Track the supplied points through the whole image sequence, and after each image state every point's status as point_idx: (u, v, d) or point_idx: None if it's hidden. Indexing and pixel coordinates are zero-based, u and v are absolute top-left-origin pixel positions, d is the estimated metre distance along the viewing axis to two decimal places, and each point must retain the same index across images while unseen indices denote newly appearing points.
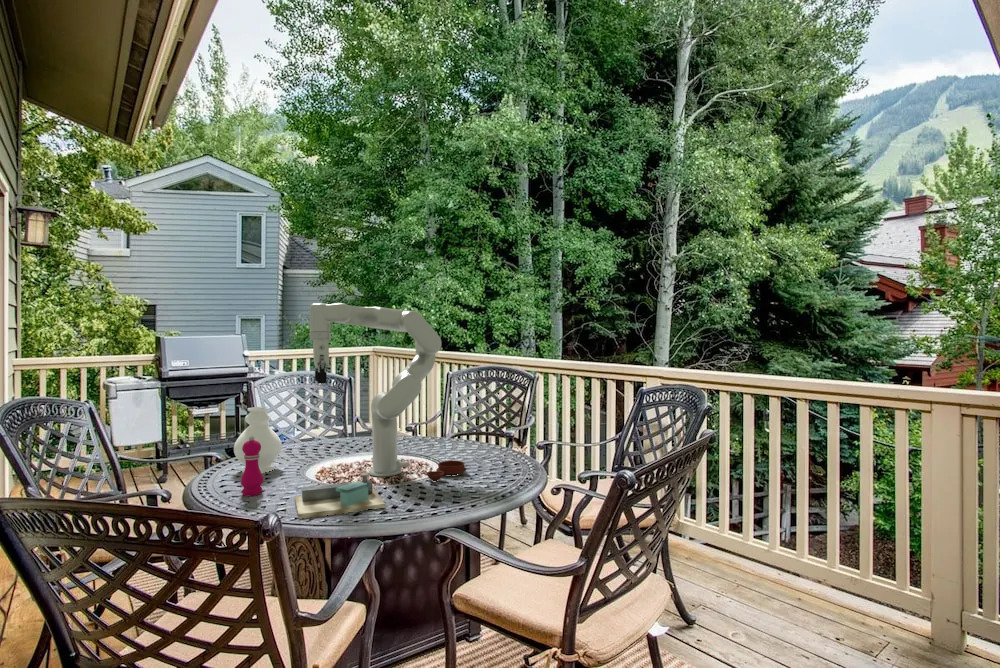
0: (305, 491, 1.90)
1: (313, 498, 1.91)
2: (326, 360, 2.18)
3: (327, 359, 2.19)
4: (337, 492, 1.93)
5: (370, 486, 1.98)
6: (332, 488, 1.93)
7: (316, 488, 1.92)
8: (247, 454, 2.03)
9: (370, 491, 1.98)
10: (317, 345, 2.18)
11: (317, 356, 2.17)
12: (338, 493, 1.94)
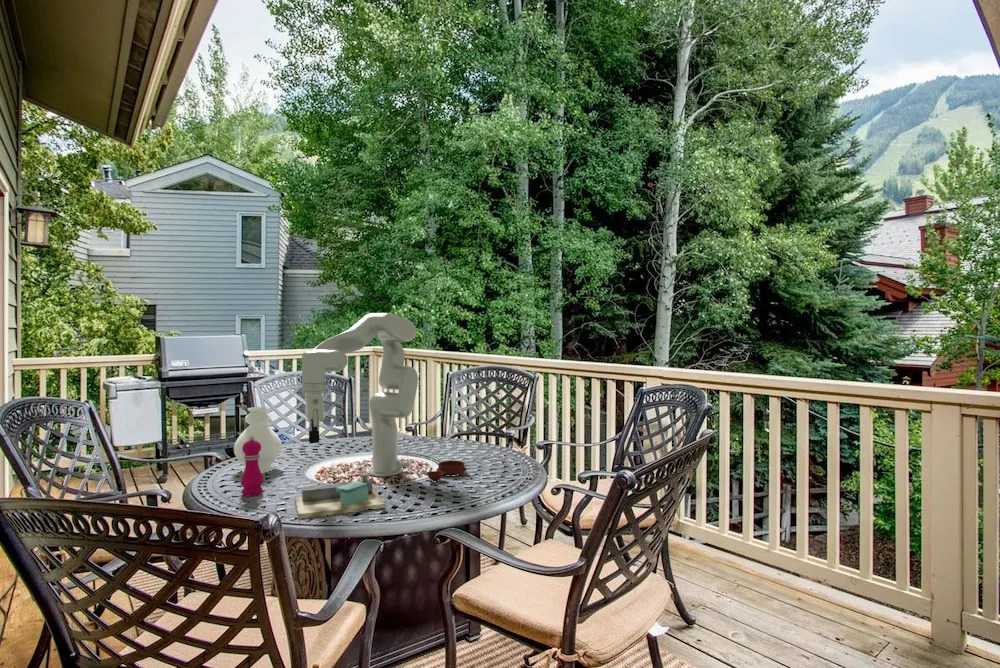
0: (305, 491, 1.90)
1: (313, 498, 1.91)
2: (320, 415, 1.95)
3: (321, 414, 1.95)
4: (337, 492, 1.93)
5: (370, 486, 1.98)
6: (332, 488, 1.93)
7: (316, 488, 1.92)
8: (247, 454, 2.03)
9: (370, 491, 1.98)
10: (310, 399, 1.94)
11: (310, 411, 1.94)
12: (338, 493, 1.94)
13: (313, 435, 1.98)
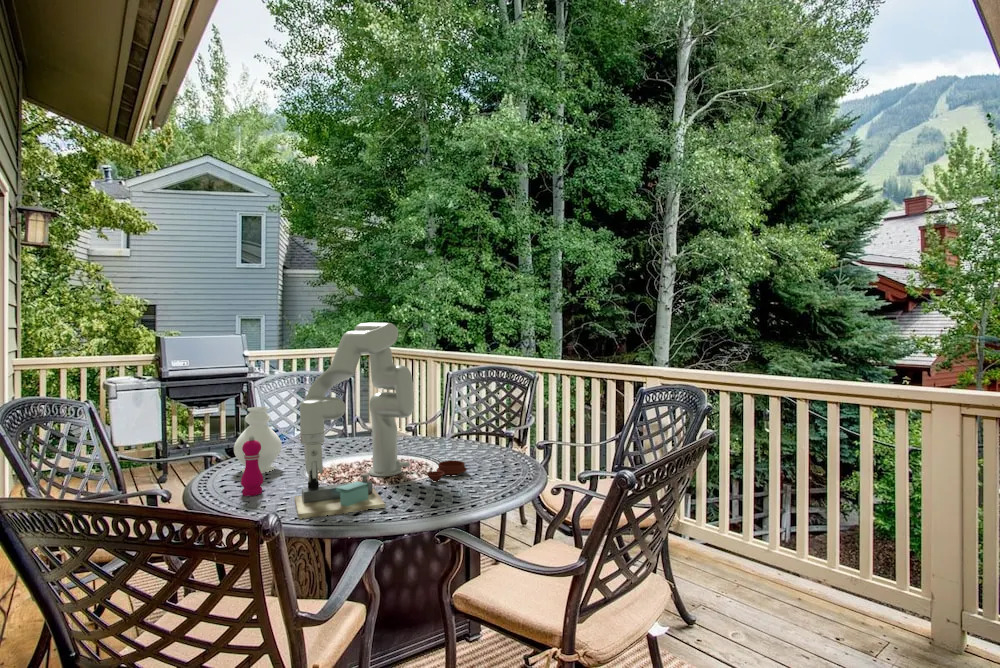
0: (306, 492, 1.88)
1: (314, 499, 1.89)
2: (319, 467, 1.91)
3: (320, 466, 1.91)
4: (338, 493, 1.93)
5: (370, 486, 1.98)
6: (333, 489, 1.92)
7: (317, 489, 1.91)
8: (247, 454, 2.03)
9: (370, 491, 1.98)
10: (309, 450, 1.90)
11: (309, 463, 1.90)
12: (339, 494, 1.93)
13: (312, 486, 1.94)
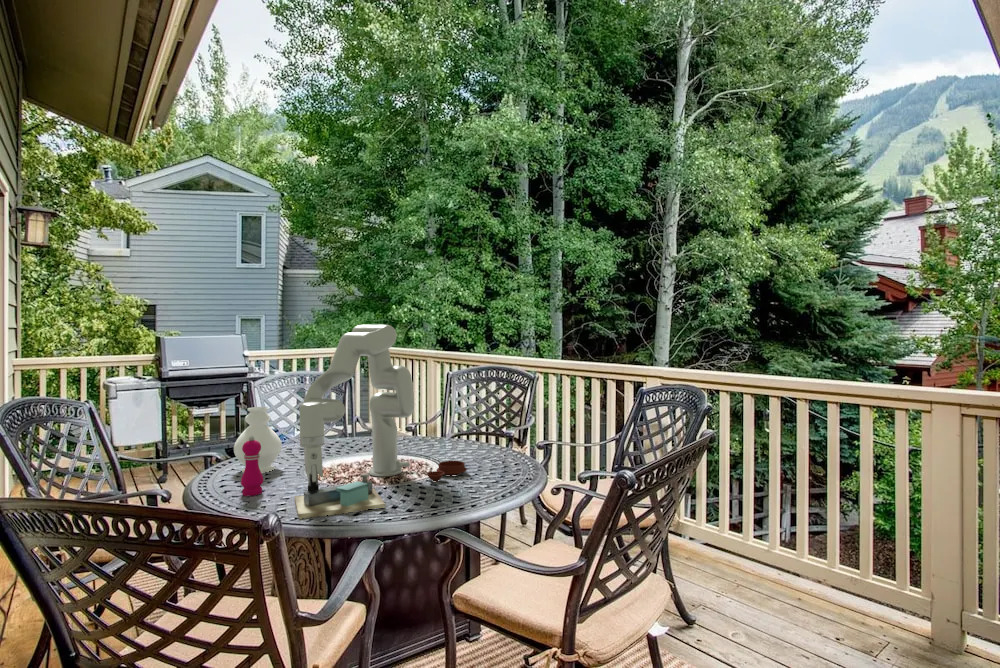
0: (311, 495, 1.85)
1: (318, 501, 1.87)
2: (319, 470, 1.88)
3: (320, 469, 1.88)
4: None
5: (371, 485, 1.98)
6: None
7: (320, 491, 1.88)
8: (247, 454, 2.03)
9: (371, 490, 1.98)
10: (308, 453, 1.87)
11: (308, 466, 1.87)
12: None
13: (312, 490, 1.91)
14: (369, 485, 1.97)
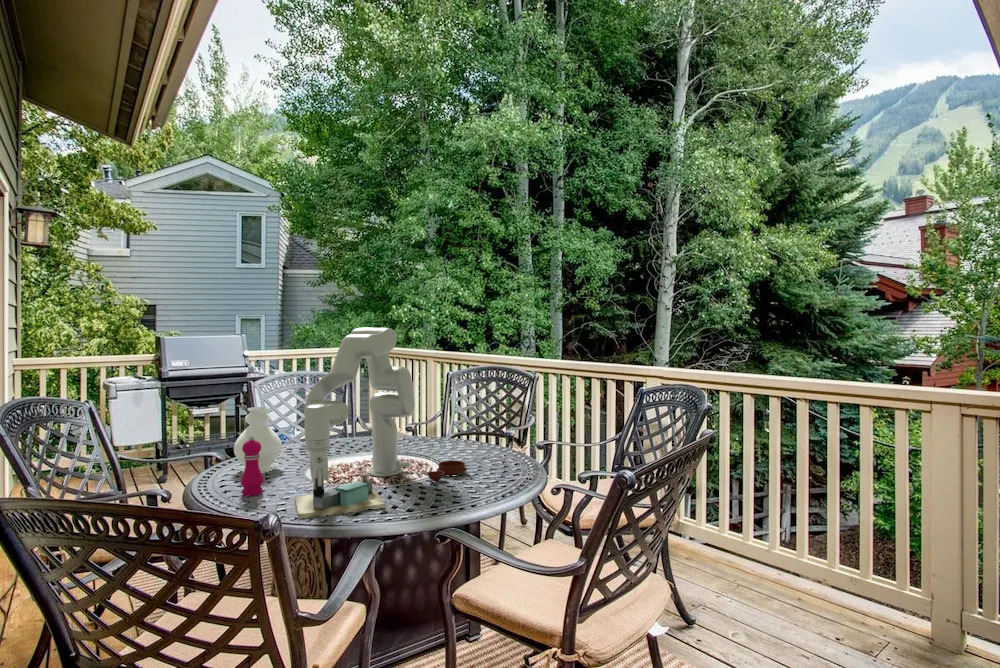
0: (324, 498, 1.82)
1: (330, 504, 1.84)
2: (325, 474, 1.83)
3: (326, 473, 1.83)
4: None
5: (372, 485, 1.99)
6: None
7: (330, 494, 1.85)
8: (247, 454, 2.03)
9: (372, 490, 1.99)
10: (314, 457, 1.82)
11: (314, 471, 1.82)
12: None
13: (318, 494, 1.86)
14: (371, 484, 1.98)
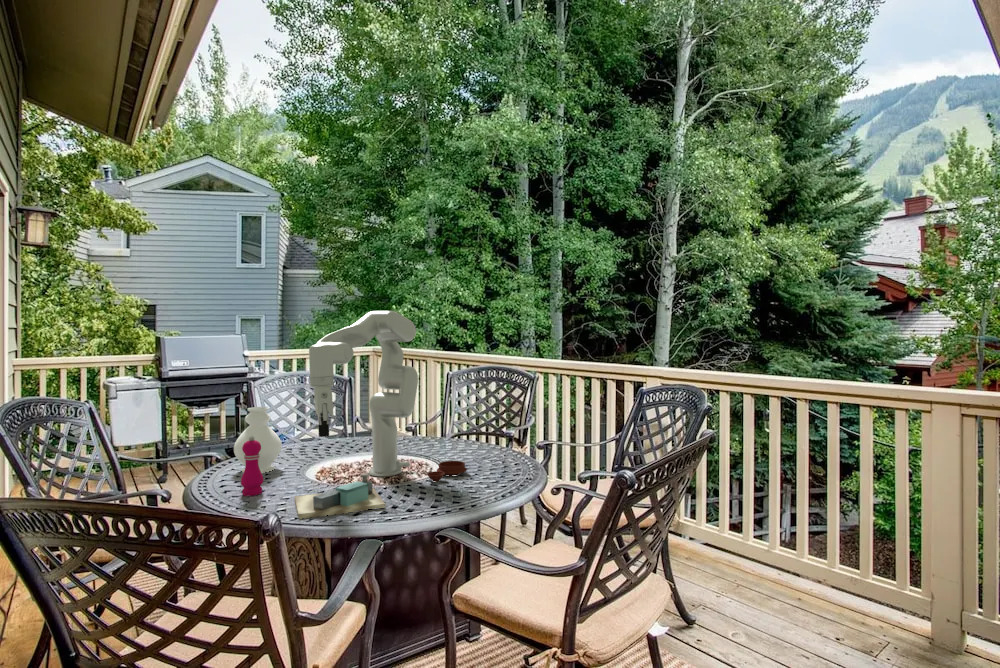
0: (324, 498, 1.81)
1: (330, 505, 1.84)
2: (330, 409, 1.94)
3: (331, 408, 1.94)
4: None
5: (372, 485, 1.99)
6: None
7: (330, 494, 1.85)
8: (247, 454, 2.03)
9: (372, 490, 1.99)
10: (319, 393, 1.93)
11: (319, 405, 1.92)
12: None
13: (323, 429, 1.96)
14: (371, 484, 1.98)
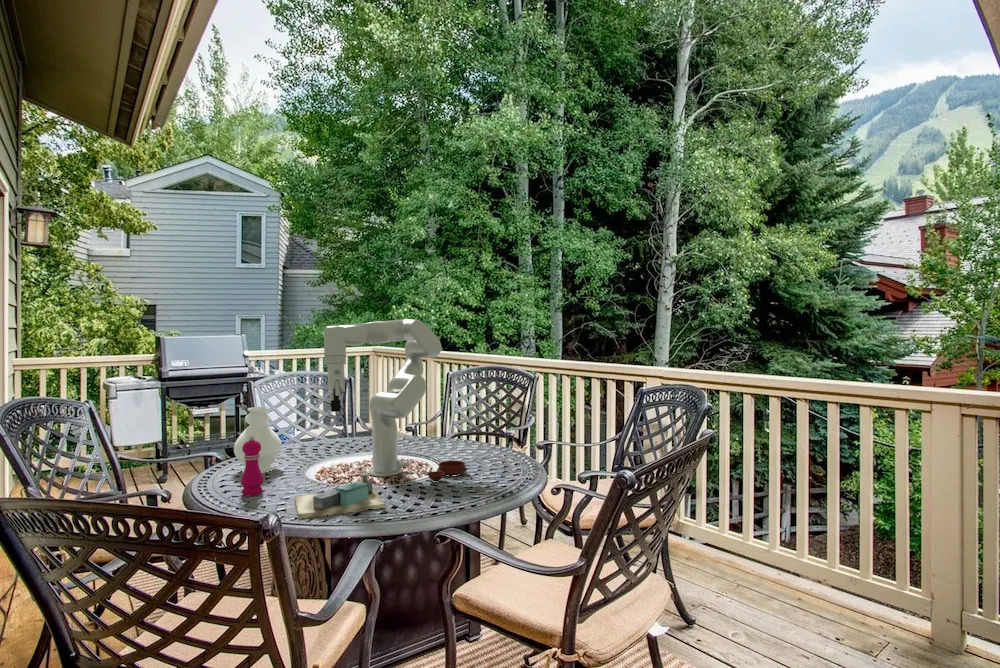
0: (324, 498, 1.81)
1: (330, 505, 1.84)
2: (341, 385, 2.09)
3: (343, 384, 2.09)
4: None
5: (372, 485, 1.99)
6: None
7: (330, 494, 1.85)
8: (247, 454, 2.03)
9: (372, 490, 1.99)
10: (332, 370, 2.08)
11: (332, 381, 2.08)
12: None
13: (335, 404, 2.12)
14: (371, 484, 1.98)
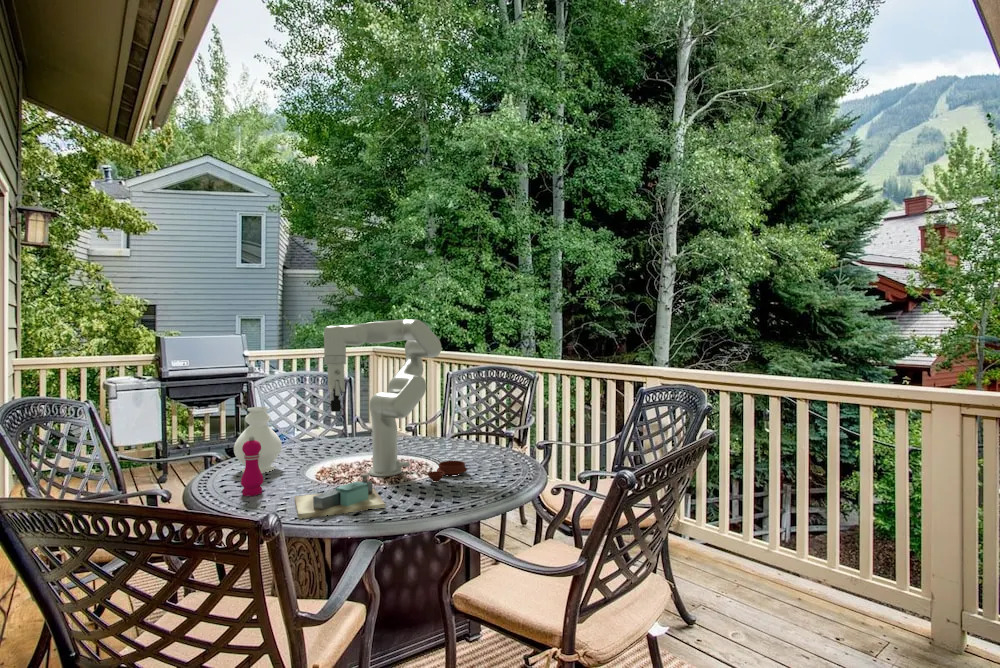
0: (324, 498, 1.81)
1: (330, 505, 1.84)
2: (341, 385, 2.09)
3: (343, 384, 2.09)
4: None
5: (372, 485, 1.99)
6: None
7: (330, 494, 1.85)
8: (247, 454, 2.03)
9: (372, 490, 1.99)
10: (332, 370, 2.08)
11: (332, 381, 2.08)
12: None
13: (335, 404, 2.12)
14: (371, 484, 1.98)
